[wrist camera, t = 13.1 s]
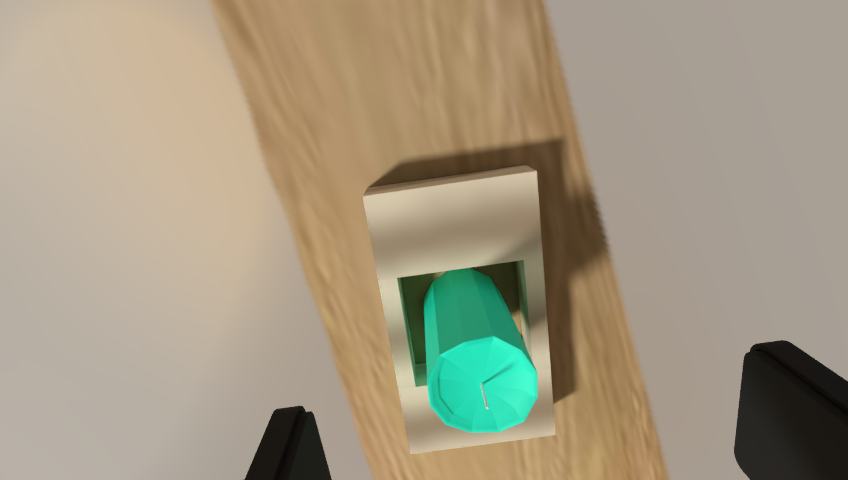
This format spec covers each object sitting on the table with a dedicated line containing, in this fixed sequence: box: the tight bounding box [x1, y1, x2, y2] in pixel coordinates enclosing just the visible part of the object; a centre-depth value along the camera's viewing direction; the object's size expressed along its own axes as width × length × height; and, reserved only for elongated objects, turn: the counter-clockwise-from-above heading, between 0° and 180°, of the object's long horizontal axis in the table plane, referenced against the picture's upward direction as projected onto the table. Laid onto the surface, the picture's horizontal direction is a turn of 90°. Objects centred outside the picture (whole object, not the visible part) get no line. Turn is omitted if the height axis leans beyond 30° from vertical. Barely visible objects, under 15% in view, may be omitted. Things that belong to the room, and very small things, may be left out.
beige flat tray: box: [363, 165, 555, 454], centre depth 32 cm, size 20×11×3 cm, turn 8°
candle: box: [423, 268, 538, 433], centre depth 28 cm, size 6×6×12 cm
